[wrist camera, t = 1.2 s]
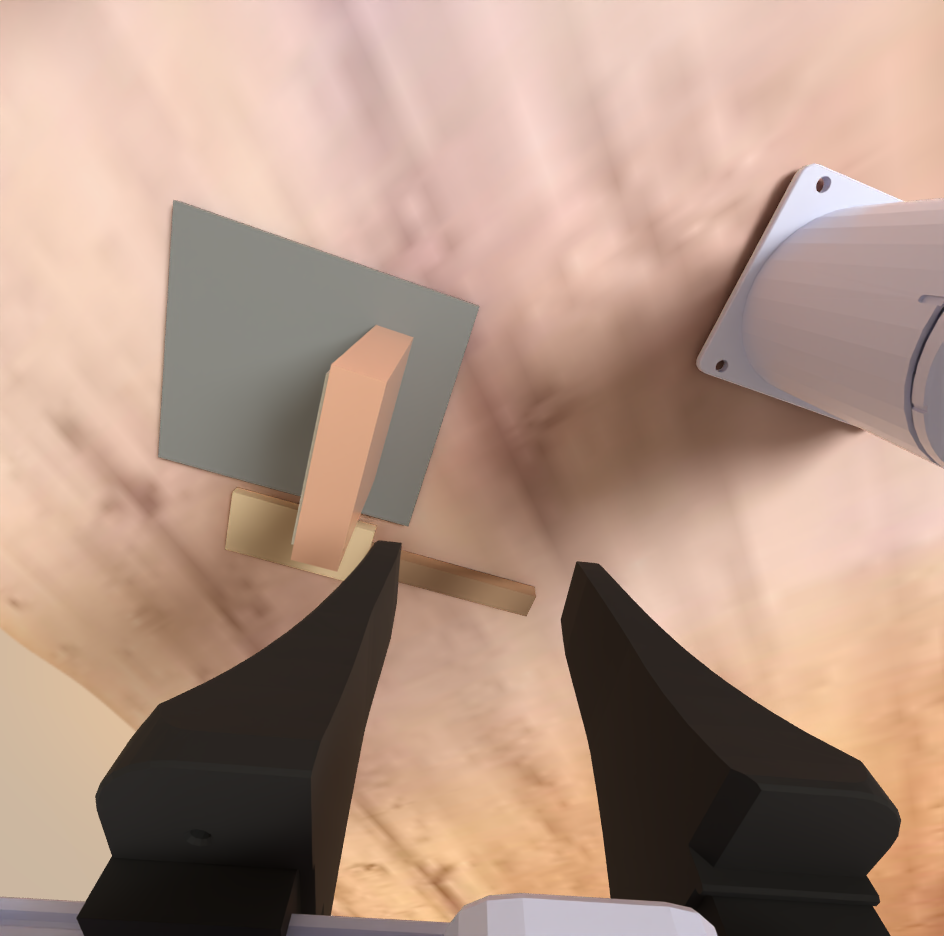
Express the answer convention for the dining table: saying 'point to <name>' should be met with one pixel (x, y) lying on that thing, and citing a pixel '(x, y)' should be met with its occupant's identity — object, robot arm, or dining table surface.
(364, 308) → the mat
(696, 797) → the robot arm
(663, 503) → the dining table surface
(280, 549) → the tan wooden bar
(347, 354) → the tile
